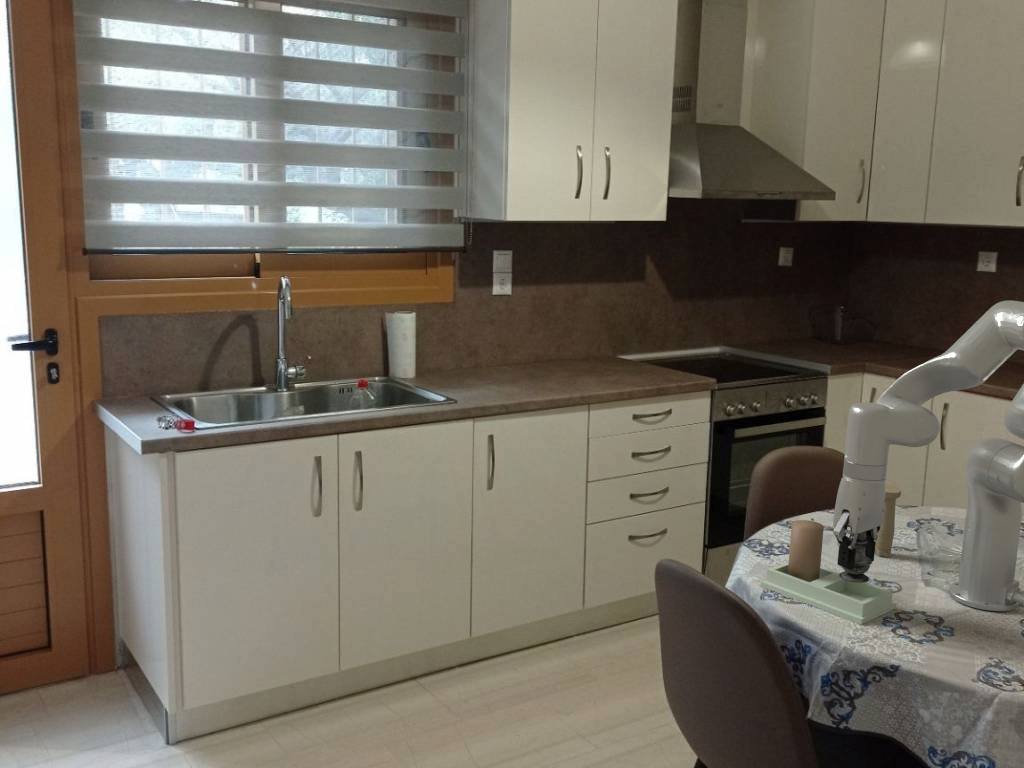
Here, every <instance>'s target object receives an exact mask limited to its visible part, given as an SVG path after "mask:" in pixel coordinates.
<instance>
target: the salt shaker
mask: <svg viewBox="0 0 1024 768" xmlns="http://www.w3.org/2000/svg"><path fill="white" fill-rule="evenodd" d="M851 530H852V528H850V527H849V531H851ZM866 532H867V531H865V532H862V533H859V534H858V536H857V539H856V542H855V546H854V548H855V549H856V556H855V566H854V569H852V570H851V569H848V568H845V567H842V566H841V568H842V569H843V570H844V571H841V572H839V573H840V574H839V577H840V578H842V579H843V580H846V581H849V582H854V583H864V582H867V583H868V581H869V579H870V577H869V576H867V575H866V574H865V573H867V572H868V571H869V570H870V567H871V565H872V564H873V561H872V560H871V559H870V558H868V557H866V555H865V546H866V543H867V542H868V541H867V540H866ZM847 537H848V538H849V540H850V538H851V534H849V536H847Z"/></svg>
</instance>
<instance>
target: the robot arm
mask: <svg viewBox="0 0 1024 768" xmlns="http://www.w3.org/2000/svg"><path fill="white" fill-rule="evenodd" d="M1017 350H1018V351H1019V350H1021V351H1024V301H1019V300H1002V301H999V302H996V303H995V304H993V305H992V306H991V307H990V308H989V309H988V310H987V311H986V312H985V313H984V314H983V315H982V316H981V317H980V318H978V320H977V321H975V322H974V323H973V324H972V326H971V327H970V328H969V329H967V330H966V331H965V333H963V335H961V336H960V337H959V338H958V339H957V340H956V341H955V342H954V343H953V344H952V345H951V346H950V347H949V348H948V349H947V350H946V351H944V352H943V353H942V354H940V355H938V356H935V357H933V358H931V359H929V360H927V361H925V362H924V363H922V364H921V363H920V365H917V366H915V367H914V368H911V369H910V370H908V371H906V372H905V373H904V374H902V375H900V376H899V377H898V378H896V380H894V381H893V383H892V384H890V385H889V386H888V387H887V388H886V389H885V390H884V391H883V392H882V394H881V395H880V396H879V397H878V398H876V399H877V400H876V401H875V402H865V401H864V402H857V403H854V404H852V405H851V406H850V407H849V410H848V417H847V424H846V425H847V427H846V434H845V435H846V436H845V437H846V438H845V445H844V446H845V447H844V457H843V458H844V459H843V470H842V477H841V479H840V482H839V486H838V489H837V494H836V499H835V500H836V501H835V504H834V512H833V519H832V525H833V528H834V529H833V533H832V534H833V535H834V537H835V538H836V541H837V546H838V552H837V553H838V554H837V561H836V562H837V565H838V566H840V567H841V568H842V567H845V568H848V569H851V570H852V569H854V566H855V556H856V549H855V548H854V546H855V542H856V539H857V536H858V534H859V533H862V532H865V531H867V532H866V540H867V541H868V542H867V543H866V546H865V555H866V557H868V558H870V559H871V560H872V562H874V561H875V555H876V554H875V548H876V547H875V545H876V542H875V541H876V540H877V539H878V534H877V533H878V531H879V530H880V526H881V524H882V522H883V521H884V506H885V484H886V480H887V472H888V462H889V454H890V453H889V451H890V446H891V445H893V446H894V445H896V446H902V447H909V448H921V447H924V446H925V447H926V446H928V445H930V444H932V443H933V442H934V441H936V439H937V438H938V436H939V433H940V429H941V425H940V421H939V418H938V417H937V414H935V413H934V412H932V410H930V409H928V408H926V407H923V406H922V405H924V404H926V402H928V401H929V400H931V399H933V398H935V397H938V396H940V395H942V394H943V395H944V394H947V393H950V392H956V391H962V390H967V389H971V388H975V387H978V386H980V385H983V384H984V383H985V382H986V381H987V380H988V379H989V378H990V377H991V376H992V375H993V374H994V373H995V372H996V371H997V370H998V369H999V368H1000V367H1002V365H1003V364H1004V363H1005V362H1006V361H1007V360H1008V359H1009V358H1010V357H1011V356H1012V355H1013V354H1015V352H1016V351H1017ZM1003 423H1004V426H1005V428H1006V430H1007V431H1008V432H1009V433H1010V434H1012V435H1013V436H1016V437H1018V438H1019V439H1021V440H1024V383H1023V384H1022V385H1021V387H1020V388H1019V390H1018V392H1017V393H1016V394H1015V396H1014V397H1013V399H1012V401H1011V402H1010V403H1009V405H1008V407H1007V408H1006V410H1005V413H1004V415H1003ZM965 462H966V465H965V468H966V469H965V470H966V480H967V481H966V483H967V502H966V504H967V505H966V513H965V514H966V515H965V522H964V529H963V530H964V531H963V539H962V547H961V548H962V549H961V555H960V563H959V564H960V566H959V573H958V574H959V575H958V581H956V582H953V583H951V584H950V585H949V586H948V587H949V588H948V594H949V596H950V597H951V598H952V599H954V600H955V601H957V602H958V603H960V604H962V605H964V606H968V607H972V608H975V609H977V610H983V611H990V612H991V611H992V612H1010V611H1014V610H1017V609H1018V608H1019V607H1020V606H1021V605H1024V590H1022V589H1021V588H1020V581H1019V580H1017V579H1015V577H1016V575H1015V574H1016V565H1017V560H1018V558H1017V557H1018V552H1019V551H1018V550H1019V542H1020V534H1021V527H1022V522H1023V521H1022V519H1023V506H1022V504H1024V445H1021V444H1019V443H1016V442H1013V441H1011V440H1007V439H1004V438H1000V437H999V438H998V437H989V438H984V439H982V440H979V441H978V442H976V443H975V444H973V446H972V447H971V448H970V449H969V452H968V454H967V457H966V461H965ZM848 528H849V530H848ZM850 528H852V530H851V531H850ZM847 534H848V535H850V534H851V538H850V540H849V538H848V537H849V536H847Z"/></svg>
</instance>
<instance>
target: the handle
mask: <svg viewBox="0 0 1024 768" xmlns="http://www.w3.org/2000/svg"><path fill="white" fill-rule="evenodd" d="M901 495H902V489H901V488H900V487H899V486H897V485H895V484H887V483H885V506H884V521H883V522H882V524H881V526H880V530H879V531H878V533H877V534H878V539H877V540H876V541H875V542H876V545H875V555H876V556H878V557H883V558H884V557H885V558H887V557H889V556H890V555H891V553H892V547H893V542H894V538H895V537H894V536H895V527H896V526H895V525H896V524H895V521H896V520H895V519H896V502H897V501H896V500H897V499H898V498H901Z"/></svg>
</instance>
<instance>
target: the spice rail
mask: <svg viewBox="0 0 1024 768" xmlns="http://www.w3.org/2000/svg"><path fill="white" fill-rule="evenodd" d="M824 527H825V526H824V525H823V524H822V523H821V522H820V523H819V522H818V521H814V520H807V519H800V520H793V521H792V522H791V527H790V528H791V529H790V539H789V540H790V541H789V553H788V561H786V562H783V563H781V564H778V565H776V566H773V567H770V568H767V569H766V579H765V580H762V581H761V582H760V587H761V588H764V589H765V590H766V589H767V590H769V591H771V590H772V591H771V592H774V591H775V593H776V594H779V593H780V595H783V596H784V595H785V596H784V597H787V598H790V597H791V598H790V599H792V598H793V599H792V600H795V599H796V600H795V601H797V602H800V601H801V602H800V603H803V604H805V603H806V605H808V604H809V605H808V606H811V605H812V606H811V607H813V606H815V607H814V608H816V607H817V609H819V608H820V609H819V610H821V609H822V611H824V610H825V611H824V612H826V611H827V613H830V614H832V615H834V616H837V617H839V616H840V617H839V618H842V617H843V618H842V619H844V620H847V621H850V622H853V623H856V624H858V625H860V626H861V625H864V624H866V623H868V622H870V621H872V620H874V619H876V618H878V617H880V616H883V615H885V614H888V613H889V612H891V611H894V610H897V605H898V604H897V602H894V601H892V600H893V592H894V591H893V590H890V589H889V588H888V589H887V588H884V587H881V586H879V585H876V584H873V583H870V582H868V581H867V582H864V583H854V582H849V581H846V580H843V579H842V578H840V577H839V574H840V573H841V572H839V571H836V570H832V569H829V568H826V567H824V566H821V562H822V551H823V550H822V549H823V542H824V541H823V538H824V530H825V529H824ZM893 609H894V610H893Z"/></svg>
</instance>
